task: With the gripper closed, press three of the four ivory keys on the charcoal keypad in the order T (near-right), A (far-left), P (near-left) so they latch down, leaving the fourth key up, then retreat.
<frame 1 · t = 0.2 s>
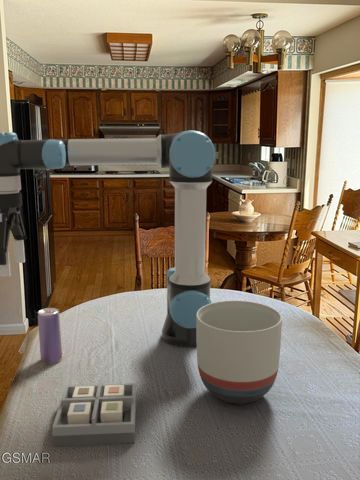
hand: (13, 269, 131), 28 cm above the table, fingers open, 13 cm apart
keypad: (98, 421, 109), on the table
key T: (79, 414, 104), point 4 cm above the table, slide at 0.0 cm
beverage can: (51, 360, 139), on the table
planter: (236, 396, 119), on the table
key P: (112, 413, 105), point 4 cm above the table, slide at 0.0 cm
key A: (114, 396, 112), point 4 cm above the table, slide at 0.0 cm
key E: (83, 397, 111), point 4 cm above the table, slide at 0.0 cm
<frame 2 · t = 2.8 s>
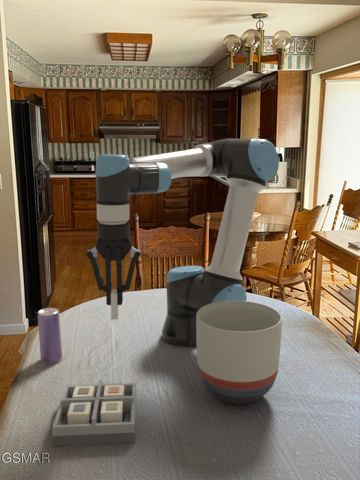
hand: (114, 317, 116), 20 cm above the table, fingers closed
nothing on the table moved.
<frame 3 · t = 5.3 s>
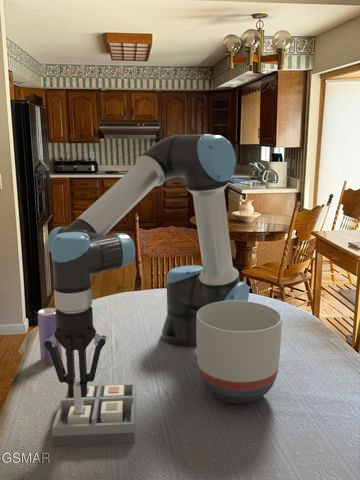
hand: (79, 409, 104), 5 cm above the table, fingers closed
key T: (80, 417, 105), point 3 cm above the table, slide at 0.8 cm, touching gripper
everything else where it was.
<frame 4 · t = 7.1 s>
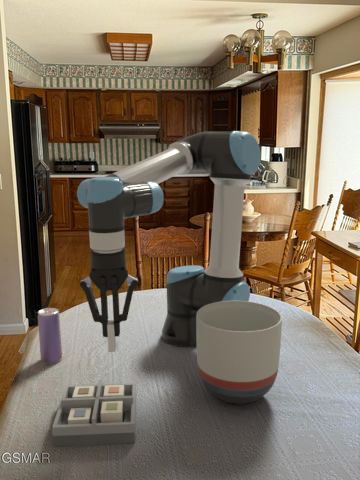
hand: (112, 349, 109), 16 cm above the table, fingers closed
key T: (80, 419, 105), point 3 cm above the table, slide at 1.3 cm
everything else where it was.
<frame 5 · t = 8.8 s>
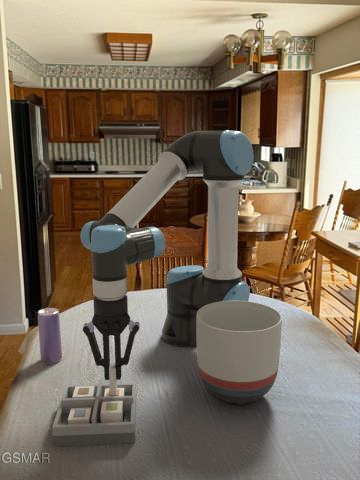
hand: (113, 391, 111), 5 cm above the table, fingers closed
key A: (114, 398, 112), point 3 cm above the table, slide at 0.8 cm, touching gripper
everything else where it was.
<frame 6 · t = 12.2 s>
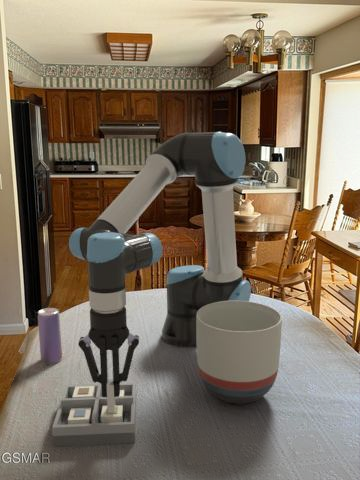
hand: (111, 409, 105), 5 cm above the table, fingers closed
key P: (112, 416, 105), point 3 cm above the table, slide at 1.0 cm
key A: (114, 401, 112), point 3 cm above the table, slide at 1.3 cm
everything else where it was.
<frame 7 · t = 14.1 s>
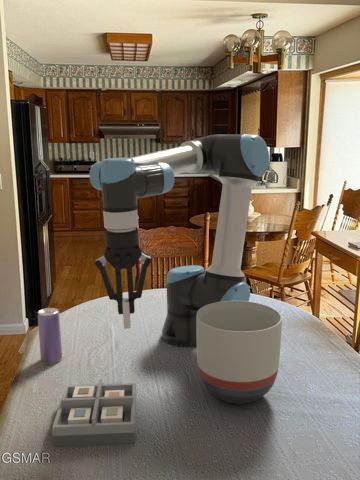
hand: (127, 325, 112), 20 cm above the table, fingers closed
key P: (112, 418, 105), point 3 cm above the table, slide at 1.3 cm
everything else where it was.
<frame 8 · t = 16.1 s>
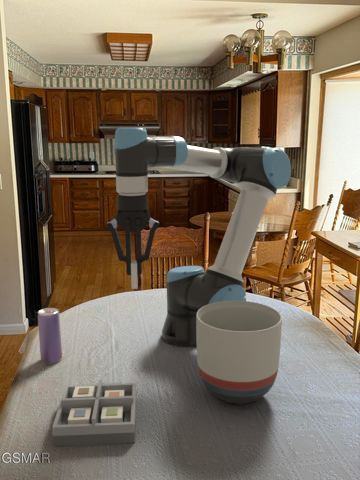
hand: (134, 287, 120), 26 cm above the table, fingers closed
nothing on the table moved.
at the end: key T slide at 1.3 cm; key A slide at 1.3 cm; key P slide at 1.3 cm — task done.
